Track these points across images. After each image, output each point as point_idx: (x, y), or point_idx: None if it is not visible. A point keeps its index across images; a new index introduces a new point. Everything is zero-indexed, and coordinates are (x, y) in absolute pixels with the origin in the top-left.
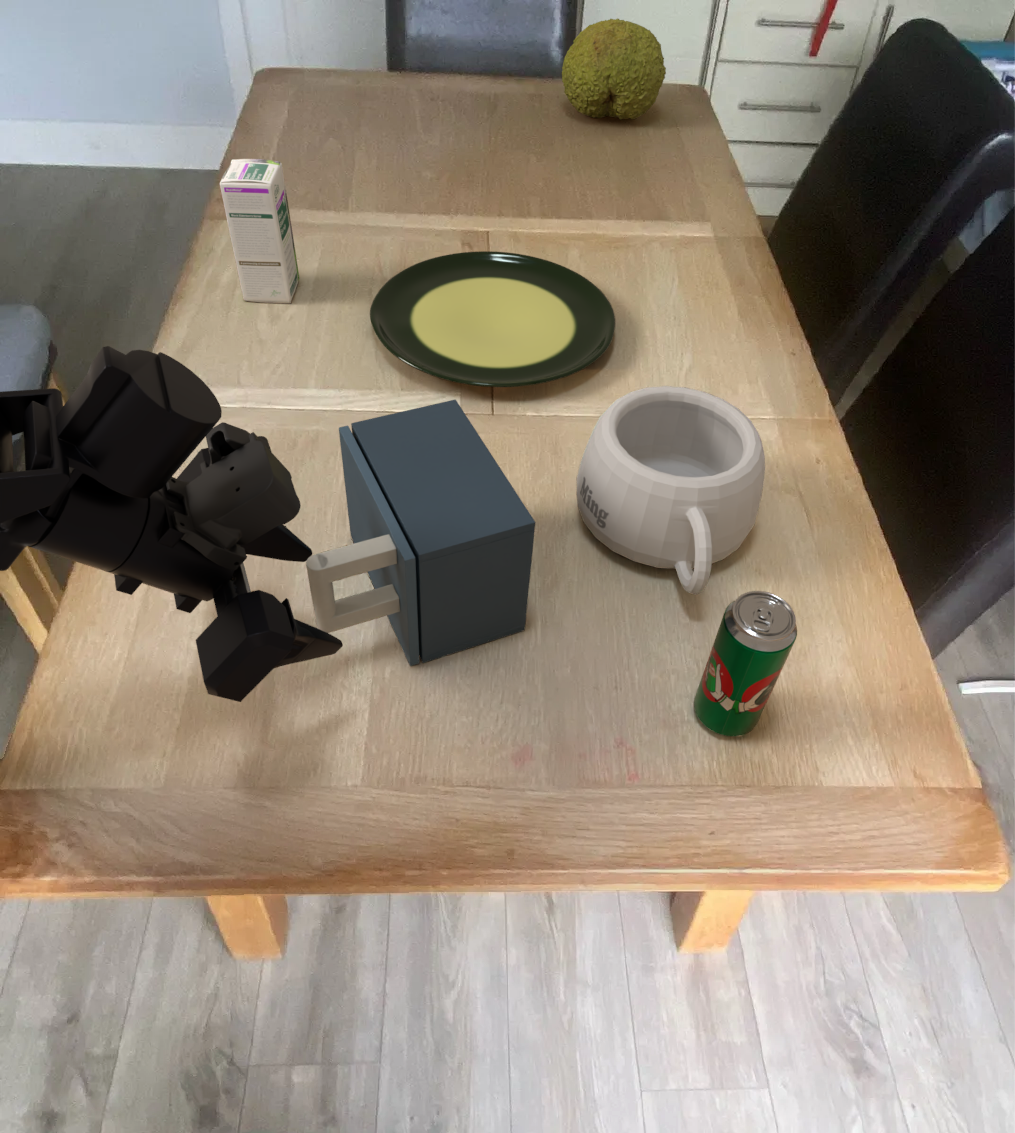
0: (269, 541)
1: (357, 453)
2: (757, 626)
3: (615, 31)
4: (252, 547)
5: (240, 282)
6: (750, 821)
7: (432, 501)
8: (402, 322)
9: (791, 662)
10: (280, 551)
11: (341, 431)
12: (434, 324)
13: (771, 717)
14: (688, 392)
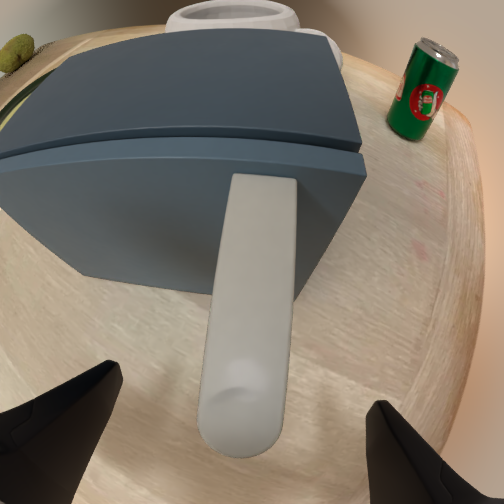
0: (70, 442)
1: (11, 162)
2: (451, 55)
3: (10, 41)
4: (73, 471)
5: None
6: (463, 165)
7: (206, 77)
8: None
9: (374, 91)
10: (94, 423)
11: None
12: None
13: None
14: (199, 4)
